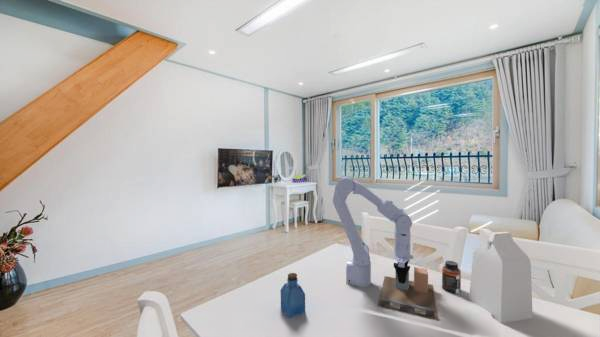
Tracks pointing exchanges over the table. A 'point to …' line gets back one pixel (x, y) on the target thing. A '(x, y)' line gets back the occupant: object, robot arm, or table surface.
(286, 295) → the perfume bottle
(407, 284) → the slate carton
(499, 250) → the milk
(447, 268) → the supplement bottle
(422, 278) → the peach carton
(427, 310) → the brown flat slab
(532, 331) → the table surface
